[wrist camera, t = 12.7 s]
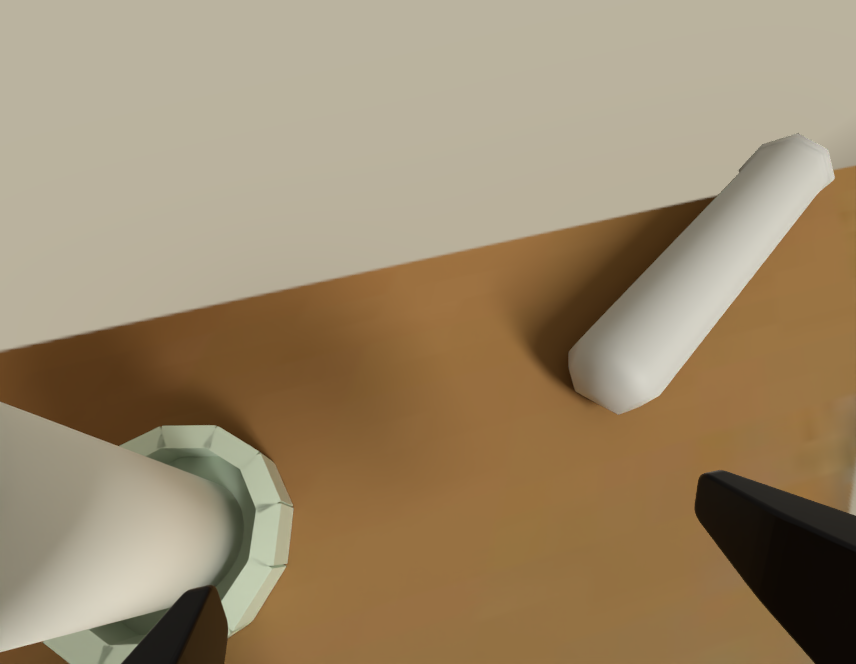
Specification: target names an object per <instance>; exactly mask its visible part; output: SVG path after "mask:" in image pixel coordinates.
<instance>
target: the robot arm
mask: <svg viewBox="0 0 856 664" xmlns="http://www.w3.org/2000/svg"><path fill="white" fill-rule="evenodd" d="M695 513H696V516H697V518H698V520H699V521H700V523H701V524H702V525H703V527H704V528H705V529H706V531H707V532H708V533H709V535H710V536H711V537H712V539H713V540H714V541H715V543H716V544H717V545H718V547H719V548H720V549H721V551H722V552H723V553H724V555H725V556H726V557H727V559H728V560H729V561H730V563H731V564H732V565H733V567H734V568H735V569H736V570H737V572H738V573H739V574H740V576H741V577H742V578H743V580H744V581H745V582H746V584H747V585H748V586H749V588H750V589H751V590H752V591H753V593H754V594H755V595H756V596H757V598H758V599H759V600H760V601H761V602H762V604H763V605H764V606H765V607H766V608H767V610H768V611H769V612H770V613H771V614H772V615H773V616H774V618H775V619H776V620H777V621H778V622H779V623H780V624H781V626H782V627H783V628H784V629H785V630H786V631H787V632H788V634H789V635H790V636H791V637H792V638H793V639H794V640H795V641H796V643H797V644H798V645H799V646H800V647H801V648H802V649H803V651H804V652H805V653H806V654H807V655H808V656H809V657H810V659H811V660H812V661H813V662H814V663H815V664H856V516H855V515H852V514H849V513H846V512H843V511H840V510H837V509H835V508H832V507H829V506H826V505H823V504H820V503H817V502H814V501H811V500H808V499H805V498H803V497H800V496H797V495H794V494H791V493H788V492H785V491H782V490H779V489H776V488H773V487H771V486H768V485H765V484H762V483H759V482H756V481H753V480H750V479H747V478H744V477H741V476H739V475H736V474H733V473H730V472H727V471H723V470H717V471H713V472H708V473H704V474H702V475H701V476H700V477H699V480H698V485H697V492H696V499H695ZM227 639H228V622H227V618H226V615H225V612H224V608H223V605H222V602H221V599H220V596H219V593H218V590H217V588H216V587H215V586H214V585H206V586H202V587H197V588H193V589H189V590H187V591H186V592H184V593H183V594H182V595H181V596H180V597H179V599H178V600H177V601H176V602H175V603H174V604H173V605H172V607H171V608H170V609H169V610H168V611H167V612H166V613H165V614H164V616H163V617H162V618H161V619H160V620H159V621H158V622H157V623H156V625H155V626H154V627H153V628H152V629H151V630H150V631H149V632H148V634H147V635H146V636H145V637H144V638H143V639H142V640H141V641H140V643H139V644H138V645H137V646H136V647H135V648H134V649H133V651H132V652H131V653H130V654H129V655H128V656H127V657H126V658H125V660H124V661H123V662H122V663H121V664H224V661H225V654H226V646H227Z"/></svg>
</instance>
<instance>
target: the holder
mask: <svg viewBox="0 0 856 664" xmlns="http://www.w3.org/2000/svg"><path fill="white" fill-rule="evenodd" d="M119 447H122V448H124V449H127V450H130V451H132V452H135V453H138V454H140V455H143V456H146V457H148V458H151V459H154V460H156V461H159V462H162V463H164V464H167V465H170V466H172V467H175V468H178V469H180V470H183V471H186V472H188V473H191V474H194V475H196V476H199V477H201V478H204V479H207V480H209V481H212V482H215V483H217V484H220V485H221V486H223V487H225V488H226V489H227V490H229V491H230V492H231V493H232V494H233V495H234V497H235V498H236V500H237V501H238V503H239V505H240V508H241V511H242V514H243V520H244V534H243V541H242V545H241V548H240V551H239V554H238V556H237V558H236V560H235V563H234V564H233V566H232V567H231V569H230V571H229V572H228V573H227V575H226V576H225V577H224V578H223V579H222V580H221V582H220V583H219V584H218V585H217V586H215V587H216V588H217V590H218V593H219V596H220V599H221V602H222V605H223V608H224V612H225V615H226V618H227V622H228V638H229V637H230V636H232V635H233V634H235V633H236V632H238V631H239V630H241V629H242V628H244V627H245V626H247V625H248V624H250V622H252V621H253V620H254V618H255V616H256V615H257V613H258V612H259V610H260V608H261V607H262V605H263V603H264V602H265V600H266V599H267V597H268V595H269V594H270V592H271V591H272V589H273V587H274V586H275V584H276V582H277V581H278V579H279V578H280V576H281V574H282V573H283V571H284V569H285V568H286V566H285V565H284V564H287V563H288V554H289V545H290V536H291V527H292V518H293V510H294V508H292V506H293V504H292V502H291V500H290V497H289V495H288V493H287V490H286V488H285V486H284V484H283V481H282V479H281V477H280V475H279V472H278V470H277V468H276V465H275V463H274V462H273V461H272V460H270V459H269V458H267V457H266V456H265V455H263V454H262V453H261V452H259V451H258V450H256V449H254V448H253V447H251V446H250V445H248V444H246V443H245V442H243V441H241V440H240V439H238V438H237V437H235V436H233V435H232V434H230V433H228V432H227V431H225V430H224V429H222V428H220V427H219V426H216V425H192V426H162V427H160V426H159V427H157V428H155V429H153V430H151V431H149V432H147V433H145V434H143V435H141V436H139V437H137V438H134V439H132V440H130V441H128V442H126V443H124V444H122V445H120V446H119ZM169 609H170V608H167V609H163V610H159V611H156V612H152V613H148V614H144V615H140V616H136V617H133V618H129V619H125V620H121V621H117V622H114V623H110V624H106V625H102V626H98V627H95V628H91V629H87V630H83V631H79V632H75V633H72V634H68V635H64V636H60V637H56V638H53V639H49V640H45V641H44V642H43V643H44V644H45V645H47V646H48V647H49V648H51V649H52V650H53V651H54V652H56V653H57V654H58V655H59V656H61V657H62V658H63V659H65V660H66V661H67V662H68V663H70V664H121V663H122V662H123V661H124V660H125V658H126V657H127V656H128V655H129V654H130V653H131V652H132V651H133V649H134V648H135V647H136V646H137V645H138V644H139V643H140V641H141V640H142V639H143V638H144V637H145V636H146V635H147V634H148V632H149V631H150V630H151V629H152V628H153V627H154V626H155V625H156V623H157V622H158V621H159V620H160V619H161V618H162V617H163V616H164V614H165V613H166V612H167V611H168V610H169Z"/></svg>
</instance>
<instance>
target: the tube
mask: <svg viewBox="0 0 856 664" xmlns="http://www.w3.org/2000/svg"><path fill="white" fill-rule="evenodd" d="M834 178H835V177H834V173H833V169H832V164H831V160H830V156H829V151H828V149H826V148H824V147H822V146H821V145H819V144H817V143H815V142H813V141H812V140H810V139H808V138H806V137H804V136H803V135H800V134H799V133H798V134H794V135H791V136H788V137H785V138H781V139H778V140H775V141H772V142H769V143H766V144H762V145H761V146H760V148H759V149H758V150H757V151H756V152H755V153H754V154H753V155H752V156H751V157H750V158H749V159H748V160H747V162H746V163H745V164H744V165H743V166H742V167H741V168H740V169H739V174H738V175H737V176H736V177H735V178H734V179H733V180H732V181H731V182H730V183H729V184H728V186H726V187H725V188H724V190H723V191H722V192H721V193H720V194H719V195H718V196H717V197H716V198H715V199H714V200H713V201H712V202H711V203H710V204H709V205H708V206H707V207H706V208H705V209H704V210H703V211H702V212H701V213H700V214H699V215H698V217H697V218H696V219H695V220H694V221H693V222H692V223H691V224H690V225H689V226H688V227H687V228H686V229H685V230H684V231H683V232H682V233H681V234H680V235H679V236H678V237H677V238H676V239H675V240H674V242H673V243H672V244H671V245H670V246H669V247H668V248H667V249H666V250H665V251H664V252H663V253H662V254H661V255H660V256H659V257H658V258H657V259H656V260H655V261H654V262H653V263H652V264H651V265H650V267H649V268H648V269H647V270H646V271H645V272H644V273H643V274H642V275H641V276H640V277H639V278H638V279H637V280H636V281H635V282H634V283H633V284H632V285H631V286H630V287H629V288H628V289H627V290H626V292H625V293H624V294H623V295H622V296H621V297H620V298H619V299H618V300H617V301H616V302H615V303H614V304H613V305H612V306H611V307H610V308H609V309H608V310H607V311H606V312H605V313H604V314H603V315H602V316H601V318H600V319H599V320H598V321H597V322H596V323H595V324H594V325H593V326H592V327H591V328H590V329H589V330H588V331H587V332H586V333H585V334H584V335H583V336H582V337H581V338H580V340H579V341H578V342H577V343H576V344H575V345H574V346H573V347H572V348H571V350H570V351H569V352H568V368H569V371H570V375H571V378H572V382H573V386H574V389H575V391H576V392H578V393H579V394H581V395H583V396H585V397H586V398H588V399H590V400H591V401H593V402H595V403H597V404H598V405H600V406H602V407H604V408H606V409H608V410H610V411H612V412H614V413H616V414H618V415H619V414H622V413H624V412H627V411H630V410H632V409H635V408H637V407H640V406H642V405H643V404H645V403H647V402H649V401H651V400H652V399H654V398H656V397H658V396H659V395H660V394H661V393H662V392H663V390H664V389H665V388H666V386H667V385H668V384H669V383H670V381H671V380H672V379H673V377H674V376H675V375H676V374H677V372H678V371H679V370H680V369H681V367H682V366H683V365H684V363H685V362H686V361H687V360H688V358H689V357H690V356H691V354H692V353H693V352H694V351H695V349H696V348H697V347H698V346H699V344H700V343H701V342H702V340H703V339H704V338H705V337H706V335H707V334H708V333H709V331H710V330H711V329H712V328H713V326H714V325H715V324H716V323H717V321H718V320H719V319H720V317H721V316H722V315H723V314H724V312H725V311H726V310H727V308H728V307H729V306H730V305H731V303H732V302H733V301H734V300H735V298H736V297H737V296H738V294H739V293H740V292H741V291H742V289H743V288H744V287H745V286H746V284H747V283H748V282H749V280H750V279H751V278H752V277H753V275H754V274H755V273H756V271H757V270H758V269H759V268H760V266H761V265H762V264H763V263H764V261H765V260H766V259H767V257H768V256H769V255H770V254H771V252H772V251H773V250H774V248H775V247H776V246H777V245H778V243H779V242H780V241H781V240H782V238H783V237H784V236H785V234H786V233H787V232H788V231H789V229H790V228H791V227H792V225H793V224H794V223H795V222H796V220H797V219H798V218H799V217H800V215H801V214H802V213H803V211H804V210H805V209H806V208H807V206H808V205H809V204H810V202H811V201H812V200H813V199H814V197H815V196H816V195H817V194H818V192H820V191H821V190H822V189H823V188H825V187H826V186H827V185H828V184H829V183H831V182H832V181H833V180H834Z"/></svg>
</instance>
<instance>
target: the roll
mask: <svg viewBox="0 0 856 664" xmlns="http://www.w3.org/2000/svg"><path fill="white" fill-rule="evenodd" d="M243 534H244V520H243V514H242V511H241V508H240V505H239V503H238V501H237V500H236V498H235V497H234V495H233V494H232V493H231V492H230V491H229V490H227V489H226V488H225V487H223V486H221V485H220V484H217V483H215V482H212V481H209V480H207V479H204V478H201V477H199V476H196V475H194V474H191V473H188V472H186V471H183V470H180V469H178V468H175V467H172V466H170V465H167V464H164V463H162V462H159V461H156V460H154V459H151V458H148V457H146V456H143V455H140V454H138V453H135V452H132V451H130V450H127V449H124V448H122V447H119V446H117V445H114V444H111V443H109V442H106V441H103V440H101V439H98V438H95V437H93V436H90V435H87V434H85V433H82V432H79V431H77V430H74V429H71V428H69V427H66V426H63V425H61V424H58V423H55V422H53V421H50V420H48V419H45V418H42V417H40V416H37V415H34V414H32V413H29V412H26V411H24V410H21V409H18V408H16V407H13V406H10V405H8V404H5V403H2V402H0V652H3V651H7V650H11V649H14V648H18V647H22V646H26V645H30V644H34V643H37V642H41V641H45V640H49V639H53V638H56V637H60V636H64V635H68V634H72V633H75V632H79V631H83V630H87V629H91V628H95V627H98V626H102V625H106V624H110V623H114V622H117V621H121V620H125V619H129V618H133V617H136V616H140V615H144V614H148V613H152V612H156V611H159V610H163V609H167V608H171V607H172V605H173V604H174V603H175V602H176V601H177V600H178V599H179V597H180V596H181V595H182V594H183V593H184V592H186V591H187V590H189V589H193V588H197V587H202V586H206V585H214V586H217V585H218V584H219V583H220V582H221V580H222V579H223V578H224V577H225V576H226V575H227V573H228V572H229V571H230V569H231V567H232V566H233V564H234V563H235V560H236V558H237V556H238V554H239V551H240V548H241V545H242V541H243Z"/></svg>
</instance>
